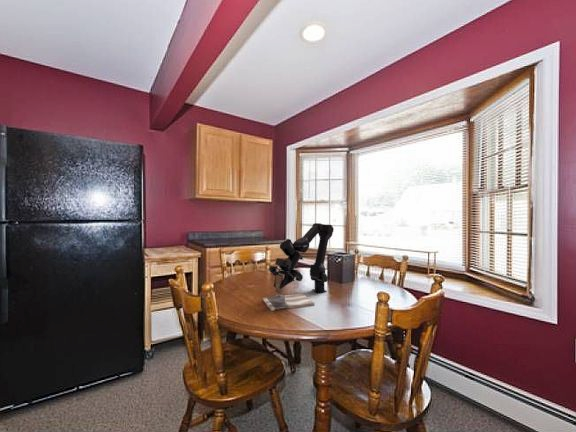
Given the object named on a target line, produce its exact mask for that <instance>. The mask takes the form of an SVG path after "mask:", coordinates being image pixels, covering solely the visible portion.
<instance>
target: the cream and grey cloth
mask: <svg viewBox="0 0 576 432" xmlns="http://www.w3.org/2000/svg"><path fill="white" fill-rule="evenodd" d="M284 296H285V301H284V302H281V303H277V302H274V301H273V297H274V296H269V297H263V298H262V301H263V302H264V303H265V304H266V306H267V307H268V309H269V310H270V311H271V312H273V311H279V310H287V309H297V308H304V307H311V306H312V307H313V306H315V302H314V301H312V300H311V299H310V297H308V296H306V295H305V294H304V293H296V294H288V295H284Z"/></svg>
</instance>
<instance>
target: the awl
mask: <svg viewBox="0 0 576 432" xmlns="http://www.w3.org/2000/svg"><path fill="white" fill-rule="evenodd" d="M275 278H276V287H275V292H276V293H277V294H276V295H274V296H272V297H273V301H274V302H277V303H281V302H284V301H285V296H286V295H283V294H281V293H283V291H284V290H283V288H284V287H283V288H282V289H280V288H279V287H280V285H281V283H282V281H283V279H282V278H283V274H282V275H281V274H278V275H275V277H274V279H275Z"/></svg>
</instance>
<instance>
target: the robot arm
mask: <svg viewBox="0 0 576 432" xmlns="http://www.w3.org/2000/svg"><path fill="white" fill-rule="evenodd" d="M334 229H335V228H334V227H333V225H332V224H323V223H319V222H315V223H313V224H312V226H311V227H310V228H309V230H307V231H306V233H305V234H304V235H303V236H302V237H299V238H297V239H296V240H295V241H294V242H292V240H291V239H290V238H287V239H286V240H284V241H283V242H281V243H280V245H279V249H280V250H281V251H282V252H283V254H284V255H285V256H286V257H287V258H285V259H284V258H276V259H275V263H274V265H270V266H269V268H268V271H269V272H270V273H271V274H272V275H273V276H275V275H278V274H281V275H282V276H283V277H282V280H283V281H282V283H281V285H280V287H279V288H280V289H282V288H285V287H286V286H288V285H289V284H291V283H293V282H295V280H296V281H297V282H302V280H303V279H304V277H303V274H302V273H301V272H300V271H299V270H297V268H298V267H297V265H298V263H299V262H300V261H301V260H302V261H303V260H304V259H303V258H304V257H303V255H302V254H300V253H303V254H304V253H306V252H307V251H308V250H309V248H310V243H311V242H312V241H313V240H314V238H315V237H316V236H317V235H318V237H319V240H318V247H317V250H316V257H315V261H314V263H313V264H311V265H310V268H309V277H310V281H314V288H312V292H314V293H316V294H320V293H321V294H322V293H327V290H326V289H325V283H327V282H328V281H329V276H328V275H327V274H326V268H325V260H326V259H325V258H326V254H327V249H328V243H329V241H330V239H331V238H332V236H333V233H334ZM275 265H276V266H275ZM273 287H274V288H276V278H275V277H274V282H273Z"/></svg>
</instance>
